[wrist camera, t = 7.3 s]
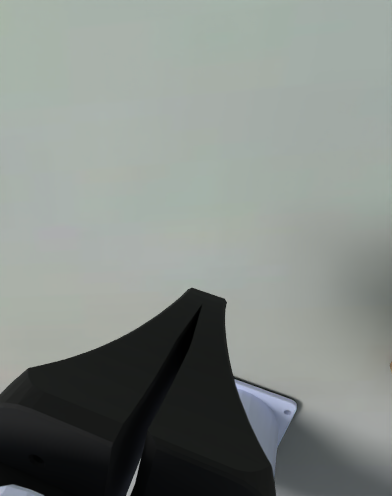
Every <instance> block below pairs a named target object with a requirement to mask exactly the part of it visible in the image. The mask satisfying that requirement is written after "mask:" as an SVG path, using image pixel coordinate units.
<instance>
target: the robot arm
mask: <svg viewBox="0 0 392 496" xmlns="http://www.w3.org/2000/svg"><path fill="white" fill-rule="evenodd" d="M226 304H227V302H226V300H225V299H224V298H221V297H218V296H215V295H212V294H209V293H206V292H203V291H200V290H197V289H194V288H190V289H188V290H187V291H186V292H185V293H184V294H183V295H182V296H181V297H180V298H179V299H177V300H176V301H175V302H174V303H173V304H171V305H170V306H169V307H168V308H166V309H165V310H164V311H162V312H161V313H160V314H158V315H157V316H156V317H154V318H153V319H151V320H149V321H148V322H146V323H145V324H143V325H142V326H140V327H139V328H137V329H135V330H134V331H132V332H130V333H128V334H126V335H124V336H122V337H121V338H119V339H117V340H114V341H112V342H110V343H108V344H106V345H103V346H101V347H99V348H96V349H94V350H91V351H89V352H86V353H83V354H80V355H77V356H74V357H71V358H68V359H65V360H61V361H57V362H53V363H49V364H45V365H41V366H36V367H32V368H28V369H27V370H26V371H25V372H23V373H22V374H21V375H20V376H19V377H18V378H16V379H15V380H14V381H13V382H12V383H11V384H10V385H9V386H8V387H7V388H6V389H5V390H4V391H3V392H2V393H1V394H0V496H126V494H127V491H128V489H129V486H130V484H131V481H132V479H133V476H134V474H135V471H136V469H137V466H138V464H139V461H140V459H141V461H140V465H139V470H138V474H137V478H136V482H135V486H134V488H133V490H132V493H131V495H130V496H276V492H275V482H274V477H275V465H276V454H277V447H278V446H279V444H280V442H281V440H282V438H283V436H284V434H285V432H286V430H287V428H288V426H289V424H290V422H291V420H292V418H293V416H294V414H295V412H296V410H297V403H296V402H295V401H294V400H291V399H289V398H286V397H283V396H280V395H278V394H275V393H272V392H269V391H266V390H264V389H261V388H258V387H255V386H253V385H250V384H247V383H244V382H241V381H239V380H236V379H234V377H233V373H232V369H231V365H230V360H229V354H228V348H227V341H226V331H225V309H226ZM287 410H289V411H287ZM141 456H142V457H141Z"/></svg>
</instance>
